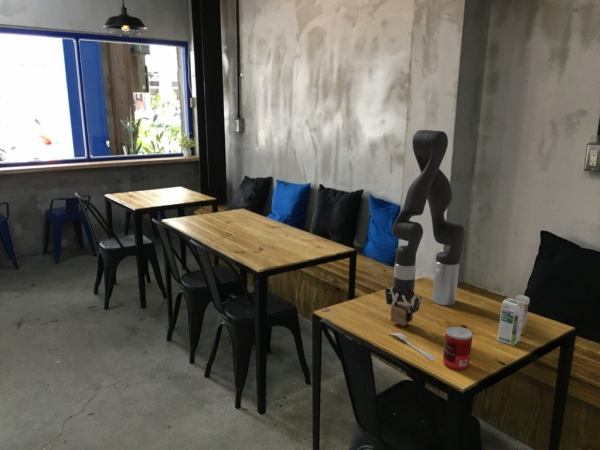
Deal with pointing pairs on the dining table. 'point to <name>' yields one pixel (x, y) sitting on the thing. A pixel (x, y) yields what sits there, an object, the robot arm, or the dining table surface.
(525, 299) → the sprinkles bottle
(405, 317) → the walnut cube
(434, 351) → the dining table surface
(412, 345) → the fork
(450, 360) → the canned food
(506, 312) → the syrup box
